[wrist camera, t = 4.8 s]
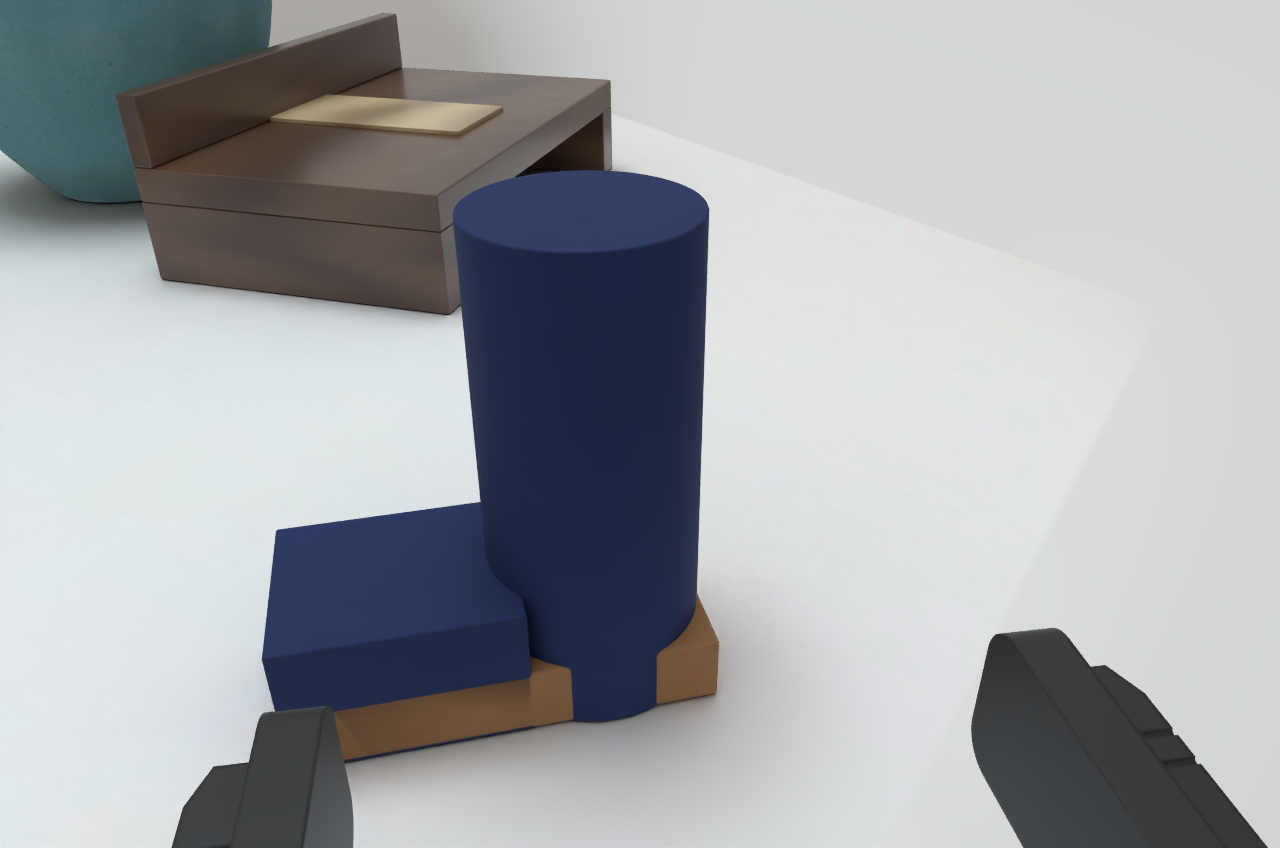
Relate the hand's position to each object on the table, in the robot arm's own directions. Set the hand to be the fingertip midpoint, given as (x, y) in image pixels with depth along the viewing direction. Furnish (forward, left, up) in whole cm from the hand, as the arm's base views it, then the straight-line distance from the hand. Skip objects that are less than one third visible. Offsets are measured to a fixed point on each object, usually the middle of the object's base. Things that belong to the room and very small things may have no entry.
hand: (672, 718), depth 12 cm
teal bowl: (+41, -38, -8) cm, 57 cm away
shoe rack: (+23, -37, -8) cm, 44 cm away
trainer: (+6, -8, -8) cm, 13 cm away
